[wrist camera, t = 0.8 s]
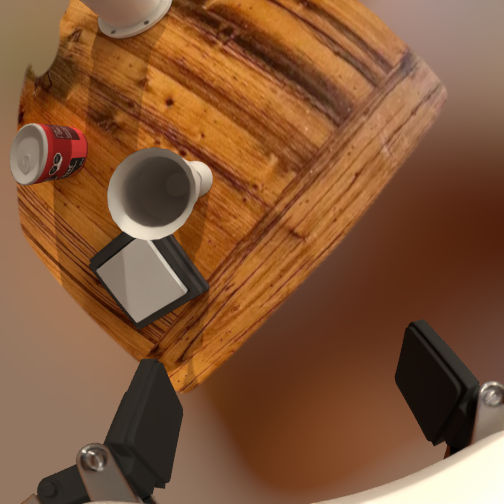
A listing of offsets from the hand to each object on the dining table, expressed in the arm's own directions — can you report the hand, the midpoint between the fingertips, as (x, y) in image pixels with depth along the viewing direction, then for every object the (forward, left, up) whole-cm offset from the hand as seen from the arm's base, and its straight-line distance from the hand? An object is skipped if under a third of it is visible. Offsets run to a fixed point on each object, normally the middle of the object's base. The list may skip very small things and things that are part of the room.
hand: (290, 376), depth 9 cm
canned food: (-25, -19, -30) cm, 43 cm away
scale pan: (-2, -19, -27) cm, 33 cm away
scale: (-2, -19, -30) cm, 35 cm away
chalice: (-9, -5, -30) cm, 32 cm away
